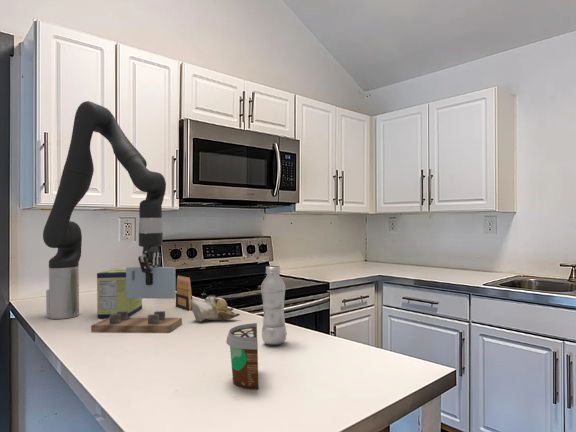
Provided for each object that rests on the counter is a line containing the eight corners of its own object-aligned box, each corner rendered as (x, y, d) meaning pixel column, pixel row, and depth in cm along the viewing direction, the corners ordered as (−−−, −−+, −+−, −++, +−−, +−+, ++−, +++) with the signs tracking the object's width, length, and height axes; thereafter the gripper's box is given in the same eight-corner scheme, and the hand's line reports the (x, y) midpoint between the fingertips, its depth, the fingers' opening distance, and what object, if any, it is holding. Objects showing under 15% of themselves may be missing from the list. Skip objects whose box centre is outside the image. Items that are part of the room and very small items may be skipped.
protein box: (142, 308, 156) (142, 267, 156) (127, 318, 141) (127, 272, 141) (114, 309, 156) (113, 267, 156) (96, 319, 140) (96, 272, 140)
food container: (228, 370, 89) (227, 323, 89) (257, 369, 89) (256, 322, 89) (224, 394, 76) (223, 339, 76) (258, 392, 77) (257, 338, 77)
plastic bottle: (290, 341, 109) (288, 265, 110) (281, 348, 103) (280, 268, 103) (267, 339, 112) (266, 264, 112) (257, 346, 105) (256, 267, 105)
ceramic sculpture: (189, 292, 138) (233, 291, 143) (188, 318, 138) (232, 316, 143) (193, 297, 128) (241, 296, 133) (192, 326, 128) (239, 323, 133)
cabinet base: (91, 332, 123) (91, 316, 123) (109, 323, 133) (109, 309, 133) (169, 332, 120) (169, 317, 121) (181, 324, 130) (181, 309, 130)
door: (125, 298, 136) (125, 267, 136) (129, 297, 139) (129, 267, 139) (172, 299, 134) (172, 268, 134) (175, 297, 137) (175, 267, 137)
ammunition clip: (192, 310, 152) (192, 277, 152) (188, 311, 150) (187, 277, 151) (180, 306, 160) (179, 274, 160) (175, 306, 159) (175, 275, 159)
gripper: (148, 231, 144) (149, 281, 144) (129, 232, 131) (129, 287, 130) (169, 231, 143) (169, 281, 143) (152, 232, 130) (152, 287, 130)
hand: (150, 284), depth 137 cm, fingers closed on door, 2 cm apart
